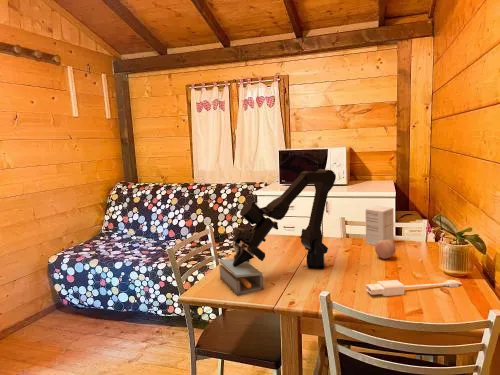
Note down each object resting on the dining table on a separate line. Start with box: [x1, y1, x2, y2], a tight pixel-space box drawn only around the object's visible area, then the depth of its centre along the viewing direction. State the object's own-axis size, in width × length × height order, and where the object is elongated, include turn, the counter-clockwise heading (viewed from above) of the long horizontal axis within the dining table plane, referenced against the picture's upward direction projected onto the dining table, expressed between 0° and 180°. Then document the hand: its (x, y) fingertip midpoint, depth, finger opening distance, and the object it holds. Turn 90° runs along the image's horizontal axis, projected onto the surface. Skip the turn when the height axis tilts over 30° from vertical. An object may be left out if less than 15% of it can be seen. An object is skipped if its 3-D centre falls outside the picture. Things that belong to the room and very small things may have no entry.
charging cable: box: [365, 279, 463, 297], centre depth 118 cm, size 5×32×3 cm, turn 97°
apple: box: [374, 239, 396, 260], centre depth 149 cm, size 8×8×8 cm
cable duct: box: [219, 264, 265, 297], centre depth 132 cm, size 10×18×5 cm, turn 23°
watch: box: [232, 241, 251, 263], centre depth 154 cm, size 6×8×11 cm
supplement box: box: [365, 205, 395, 246], centre depth 168 cm, size 10×9×17 cm
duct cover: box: [218, 258, 263, 277], centre depth 131 cm, size 10×18×1 cm, turn 23°
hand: (233, 266), depth 130 cm, fingers closed, pressing on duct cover
